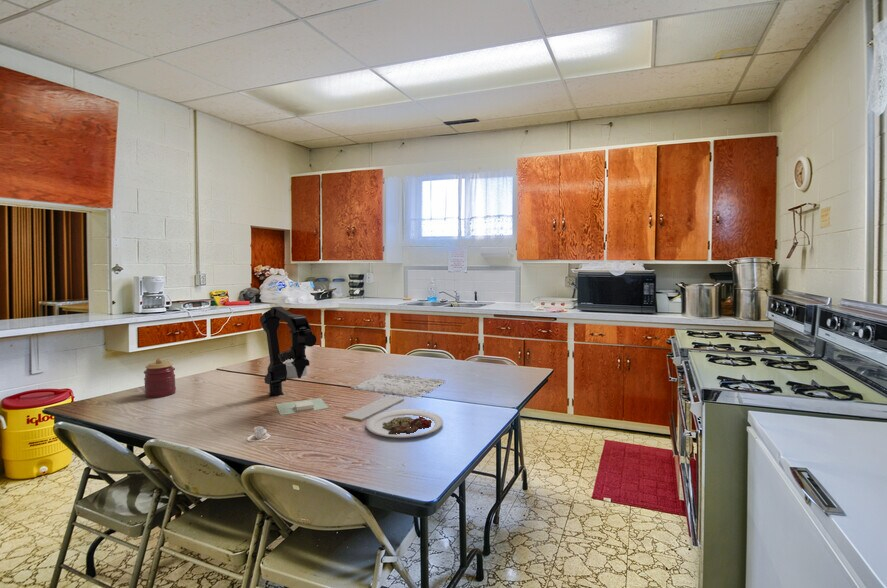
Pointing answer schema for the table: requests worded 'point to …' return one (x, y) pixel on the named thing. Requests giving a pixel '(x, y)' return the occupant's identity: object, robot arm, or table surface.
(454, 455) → the table surface
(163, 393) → the canister
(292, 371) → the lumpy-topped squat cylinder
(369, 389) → the carpet tile
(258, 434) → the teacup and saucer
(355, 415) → the baseboard
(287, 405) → the mat
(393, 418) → the plated food
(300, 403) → the tile
